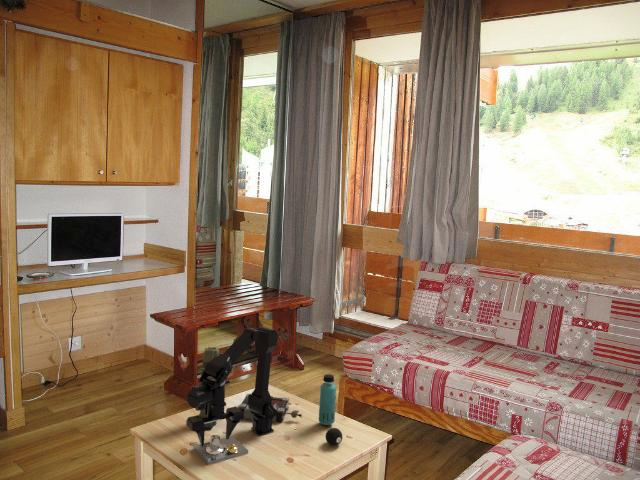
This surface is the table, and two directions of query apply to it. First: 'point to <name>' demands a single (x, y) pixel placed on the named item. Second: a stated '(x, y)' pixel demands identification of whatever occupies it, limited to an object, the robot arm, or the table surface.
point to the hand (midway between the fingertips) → (214, 442)
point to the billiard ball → (333, 436)
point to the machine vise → (277, 403)
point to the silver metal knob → (214, 446)
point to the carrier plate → (230, 450)
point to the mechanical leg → (208, 356)
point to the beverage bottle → (327, 400)
